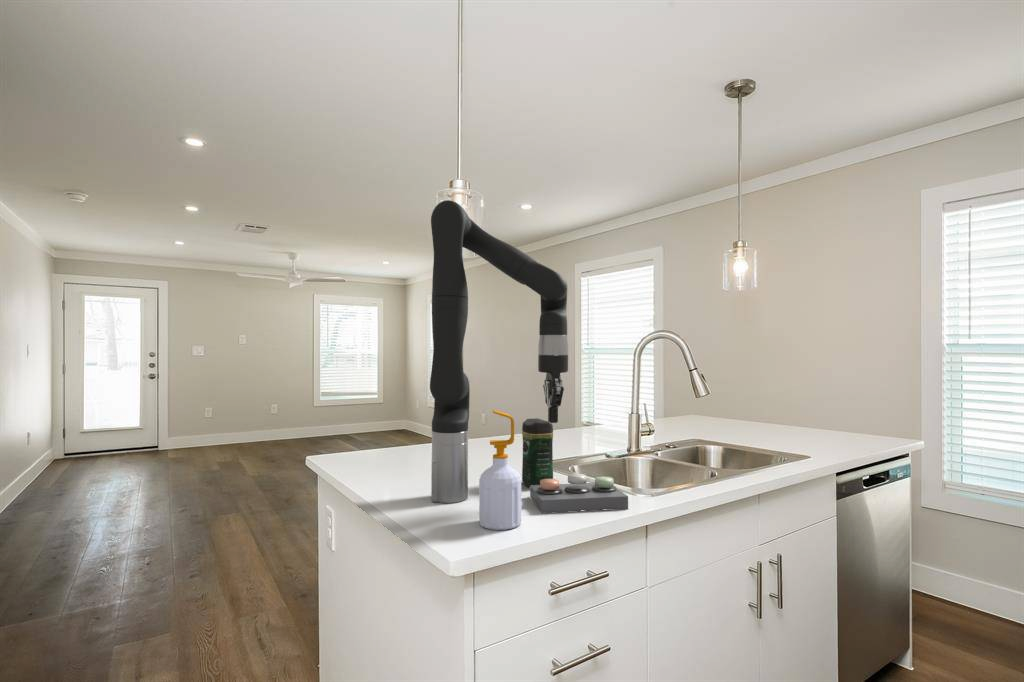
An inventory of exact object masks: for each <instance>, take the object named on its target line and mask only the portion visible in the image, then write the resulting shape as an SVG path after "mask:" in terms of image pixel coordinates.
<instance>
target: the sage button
mask: <svg viewBox="0 0 1024 682" xmlns="http://www.w3.org/2000/svg"><path fill="white" fill-rule="evenodd" d="M594 483H595V486H598V487H613V486H615V485H614V478H613V477H611V476H596V477H595V478H594Z"/></svg>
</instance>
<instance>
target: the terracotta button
mask: <svg viewBox="0 0 1024 682" xmlns="http://www.w3.org/2000/svg"><path fill="white" fill-rule="evenodd" d="M559 484H560V480H558V479H555V478H553V479H542V480H540V488H541V489H545V490H555V489H558V488H559Z"/></svg>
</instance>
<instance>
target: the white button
mask: <svg viewBox="0 0 1024 682" xmlns="http://www.w3.org/2000/svg"><path fill="white" fill-rule="evenodd" d="M585 483H588V481H587V475H586V474H583V473H569V474H568V475H567V484H585Z"/></svg>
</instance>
